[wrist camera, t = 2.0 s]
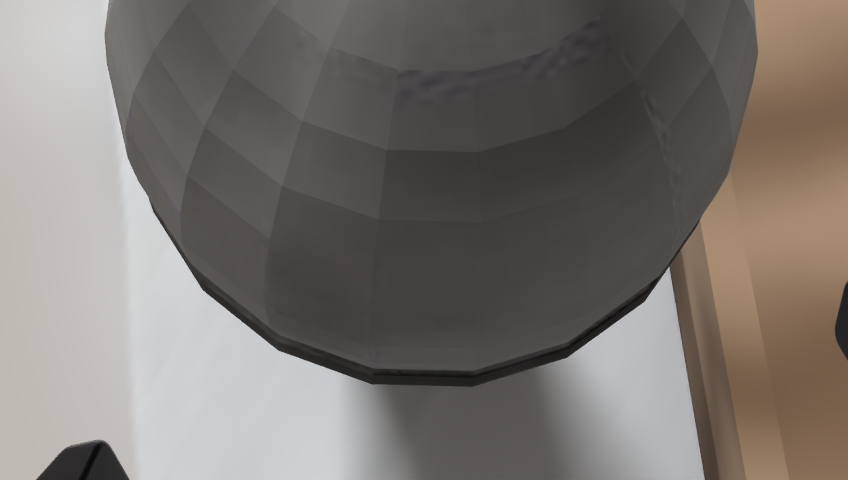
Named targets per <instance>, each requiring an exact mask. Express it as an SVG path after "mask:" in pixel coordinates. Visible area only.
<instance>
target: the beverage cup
mask: <svg viewBox="0 0 848 480" xmlns="http://www.w3.org/2000/svg"><path fill="white" fill-rule="evenodd" d="M105 45H106V57H107V66H108V70H109V75H110V79H111V84H112V88H113V93H114V98H115V102H116V107H117V111H118V116H119V120H120V125H121V129H122V134H123V138H124V143H125V147H126V152H127V156H128V159H129V161H130V164H131V166H132V168H133V170H134V172H135V175H136V177H137V179H138V181H139V183H140V184H141V186H142V187H143V189H144V191H145V192H146V194H147V195H148V197H149V201H150V203H151V206H152V209H153V212H154V213H155V215H156V217H157V218H158V220H159V221H160V223H161V224H162V226H163V228H164V229H165V231H166V232H167V234H168V236H169V237H170V239H171V240H172V242H173V244H174V245H175V247H176V248H177V250H178V251H179V253H180V255H181V256H182V258H183V259H184V261H185V263H186V264H187V266H188V267H189V269H190V270H191V272H192V274H193V275H194V277H195V278H196V280H197V282H198V283H199V285H200V286H201V288H202V290H203V291H205V292H206V293H207V294H208V295H210V296H211V297H212V298H213V299H215V300H216V301H217V302H218V303H220V304H221V305H222V306H223V307H225V308H226V309H227V310H228V311H230V312H231V313H232V314H233V315H235V316H236V317H237V318H238V319H240V320H241V321H242V322H243V323H245V324H246V325H247V326H248V327H250V328H251V329H252V330H253V331H255V332H256V333H257V334H258V335H260V336H261V337H262V338H263V339H265V340H266V341H267V342H268V343H270V344H271V345H272V346H273V347H275V348H276V349H277V350H279V351H281V352H284V353H287V354H290V355H293V356H295V357H298V358H301V359H304V360H306V361H309V362H312V363H315V364H317V365H320V366H323V367H326V368H329V369H331V370H334V371H337V372H340V373H342V374H345V375H348V376H351V377H353V378H356V379H359V380H362V381H365V382H367V383H370V384H387V385H427V386H467V387H473V386H476V385H479V384H482V383H486V382H489V381H492V380H495V379H499V378H502V377H505V376H508V375H512V374H515V373H518V372H522V371H525V370H528V369H531V368H535V367H538V366H541V365H544V364H548V363H551V362H554V361H558V360H561V359H564V358H567V357H568V356H570V355H571V354H573V353H574V352H575V351H577V350H578V349H579V348H581V347H582V346H584V345H585V344H586V343H588V342H589V341H591V340H592V339H593V338H595V337H596V336H598V335H599V334H600V333H602V332H603V331H604V330H606V329H607V328H609V327H610V326H611V325H613V324H614V323H616V322H617V321H618V320H620V319H621V318H622V317H624V316H625V315H627V314H628V313H629V312H631V311H632V310H634V309H635V308H636V307H638V306H639V305H640V304H642V303H643V302H645V300H646V299H647V297H648V296H649V294H650V293H651V292H652V290H653V289H654V287H655V286H656V284H657V283H658V282H659V280H660V279H661V277H662V276H663V274H664V273H665V272H666V270H667V269H668V267H669V266H670V264H671V263H672V261H673V260H674V259H675V257H676V256H677V254H678V253H679V251H680V250H681V249H682V247H683V246H684V244H685V243H686V241H687V240H688V239H689V237H690V236H691V234H692V233H693V231H694V230H695V229H696V227H697V225H698V223H699V221H700V219H701V217H702V215H703V213H704V212H705V210H706V209H707V208H708V206H709V205H710V203H711V202H712V200H713V199H714V198H715V196H716V194H717V193H718V191H719V189H720V187H721V186H722V184H723V182H724V180H725V179H726V177H727V175H728V173H729V169H730V165H731V162H732V158H733V154H734V151H735V147H736V143H737V140H738V136H739V132H740V128H741V125H742V121H743V117H744V114H745V110H746V106H747V103H748V99H749V95H750V91H751V88H752V84H753V79H754V74H755V68H756V63H757V57H758V43H757V31H756V19H755V7H754V0H109V4H108V12H107V20H106V27H105Z"/></svg>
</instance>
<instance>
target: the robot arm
mask: <svg viewBox="0 0 848 480" xmlns="http://www.w3.org/2000/svg"><path fill="white" fill-rule="evenodd" d="M834 329H835V337H836V341H837V343H838V346H839V347H840V349H841V351H842V353H843V354H844V356H845V357H846V359H847V361H848V281H847V282H846V283H845V286H844V289H843V293H842V297H841V301H840V306H839V310H838V314H837V318H836V322H835V327H834ZM36 480H130V479H129V478H128V476H127V474H126V473H125V471H124V469H123V467H122V466H121V464H120V462H119V461H118V459H117V457H116V455H115V454H114V452H113V450H112V448H111V447H110V446H109V444H108V443H107V442H105V441H103V440H94V441H90V442H85V443H80V444H76V445H71V446H69V447H67V448H65V449H64V450H63V451H62V452H61V453H60V454H59V455H58V456H57V457H56V458H55V459H54V460H53V461H52V463H51V464H50V465H49V466H48V467H47V468H46V469H45V471H44V472H43V473H42V474H41V475H40V476H39V477H38V478H37V479H36Z"/></svg>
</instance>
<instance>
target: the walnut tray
mask: <svg viewBox="0 0 848 480" xmlns="http://www.w3.org/2000/svg"><path fill="white" fill-rule="evenodd" d="M754 7H755V19H756V31H757V43H758V57H757V63H756V68H755V74H754V79H753V84H752V88H751V91H750V95H749V99H748V103H747V106H746V110H745V114H744V117H743V121H742V125H741V128H740V132H739V136H738V140H737V143H736V147H735V151H734V154H733V158H732V162H731V165H730V169H729V173H728V175H727V177H726V179H725V180H724V182H723V184H722V186H721V187H720V189H719V191H718V193H717V194H716V196H715V198H714V199H713V200H712V202H711V203H710V205H709V206H708V208H707V209H706V210H705V212H704V213H703V215H702V217H701V219H700V221H699V223H698V225H697V227H696V229H695V230H694V231H693V233H692V234H691V236H690V237H689V239H688V240H687V241H686V243H685V244H684V246H683V247H682V249H681V250H680V251H679V253H678V254H677V256H676V257H675V259H674V260H673V261H672V263H671V264H670V271H671V277H672V283H673V289H674V295H675V301H676V307H677V313H678V319H679V325H680V331H681V337H682V343H683V349H684V355H685V361H686V367H687V373H688V379H689V385H690V391H691V397H692V403H693V409H694V415H695V421H696V427H697V433H698V439H699V445H700V451H701V457H702V463H703V469H704V475H705V480H848V361H847V359H846V357H845V356H844V354H843V353H842V351H841V349H840V347H839V346H838V343H837V341H836V337H835V329H834V327H835V322H836V318H837V314H838V310H839V306H840V301H841V297H842V293H843V289H844V286H845V283H846V282H847V281H848V0H754Z"/></svg>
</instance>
